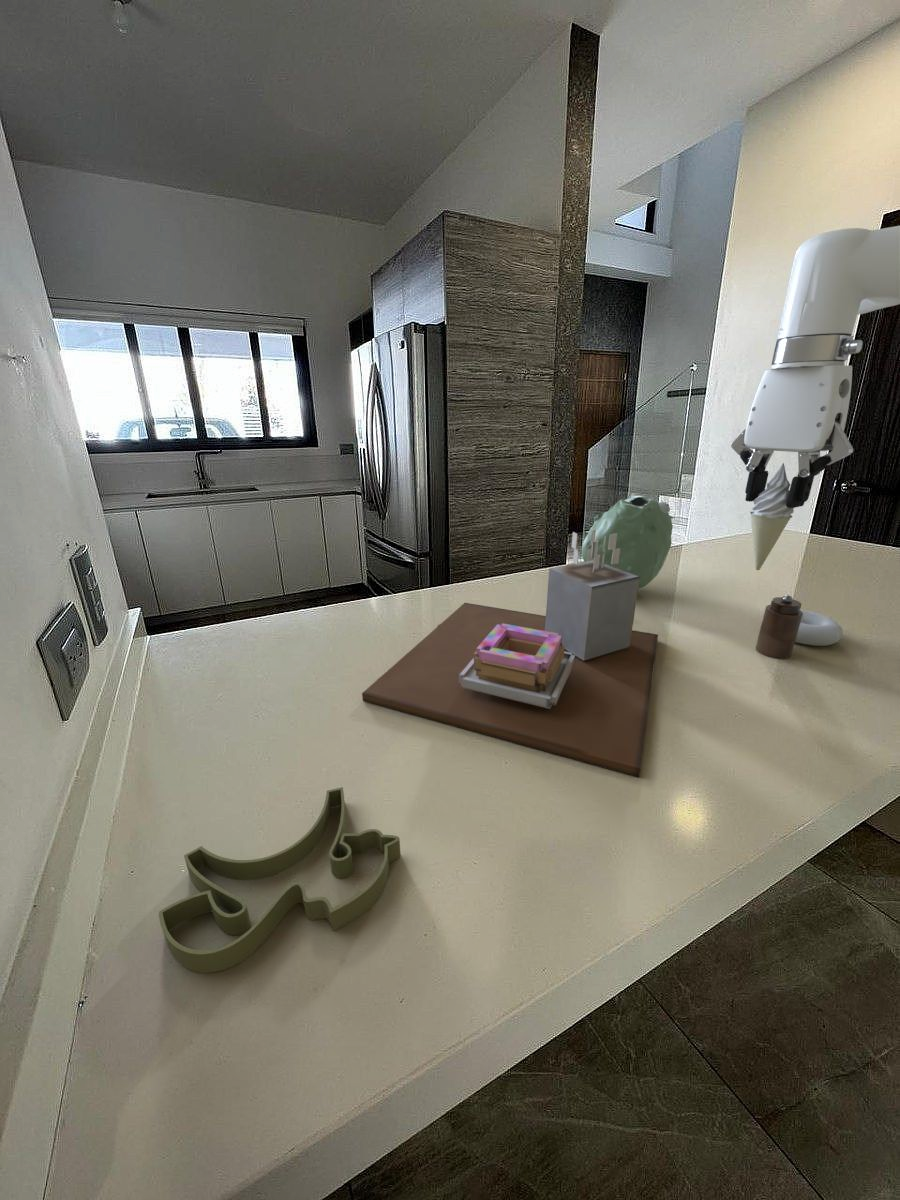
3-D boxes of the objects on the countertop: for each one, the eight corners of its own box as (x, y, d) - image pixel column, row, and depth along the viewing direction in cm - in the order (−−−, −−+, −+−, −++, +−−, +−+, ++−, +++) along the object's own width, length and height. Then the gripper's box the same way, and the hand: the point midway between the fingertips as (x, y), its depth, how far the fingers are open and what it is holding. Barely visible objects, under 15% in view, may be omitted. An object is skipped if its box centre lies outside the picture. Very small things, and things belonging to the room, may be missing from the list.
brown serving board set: (638, 777, 51) (668, 612, 44) (362, 700, 64) (350, 565, 57) (656, 640, 80) (676, 528, 73) (464, 608, 94) (465, 511, 87)
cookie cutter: (360, 792, 49) (358, 776, 48) (418, 882, 40) (417, 864, 39) (160, 881, 40) (154, 864, 39) (174, 1024, 31) (166, 1005, 30)
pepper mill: (787, 647, 77) (803, 592, 74) (793, 661, 73) (811, 603, 70) (753, 642, 79) (767, 588, 76) (757, 655, 75) (772, 598, 72)
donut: (779, 619, 88) (758, 634, 82) (784, 602, 87) (763, 615, 81) (846, 638, 81) (829, 655, 75) (852, 619, 79) (836, 635, 73)
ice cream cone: (785, 571, 69) (813, 463, 63) (765, 577, 66) (793, 465, 61) (750, 562, 73) (774, 460, 67) (730, 567, 70) (753, 462, 65)
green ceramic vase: (561, 587, 104) (569, 494, 97) (620, 572, 113) (631, 486, 106) (620, 611, 92) (634, 506, 84) (680, 591, 101) (697, 496, 94)
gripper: (909, 349, 54) (859, 510, 61) (757, 362, 68) (730, 492, 74) (877, 346, 50) (829, 517, 57) (724, 360, 64) (699, 497, 71)
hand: (773, 502), depth 66 cm, fingers closed on ice cream cone, 4 cm apart
